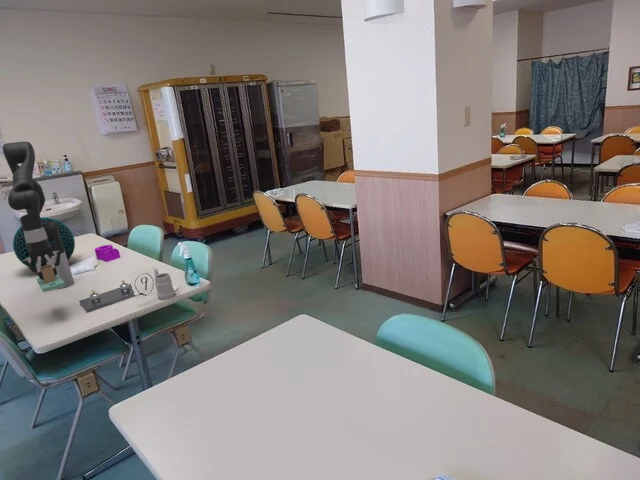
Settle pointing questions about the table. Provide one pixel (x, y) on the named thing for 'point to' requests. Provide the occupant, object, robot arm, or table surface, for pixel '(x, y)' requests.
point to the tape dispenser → (107, 253)
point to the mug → (163, 285)
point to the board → (51, 285)
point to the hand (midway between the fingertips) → (48, 277)
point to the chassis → (107, 297)
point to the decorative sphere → (66, 237)
